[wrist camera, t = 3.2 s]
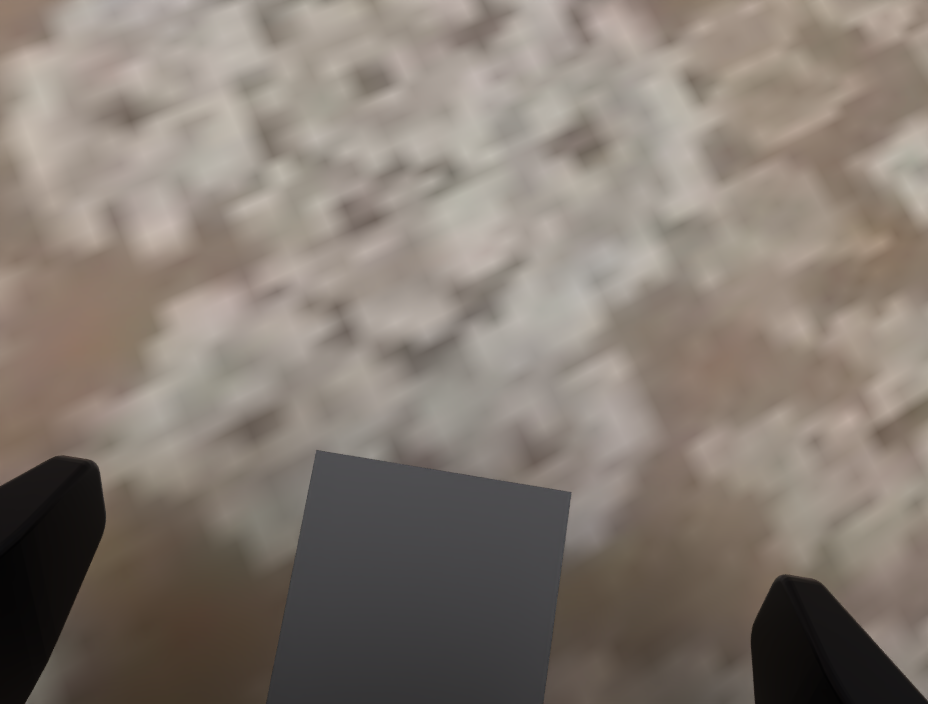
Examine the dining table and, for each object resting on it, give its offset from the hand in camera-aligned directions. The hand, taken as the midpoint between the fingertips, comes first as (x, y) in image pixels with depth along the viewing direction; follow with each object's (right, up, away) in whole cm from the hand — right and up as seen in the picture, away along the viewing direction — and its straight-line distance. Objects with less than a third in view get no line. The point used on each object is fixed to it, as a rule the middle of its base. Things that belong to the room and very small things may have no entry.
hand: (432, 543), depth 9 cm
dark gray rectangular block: (0, -3, +7) cm, 7 cm away
